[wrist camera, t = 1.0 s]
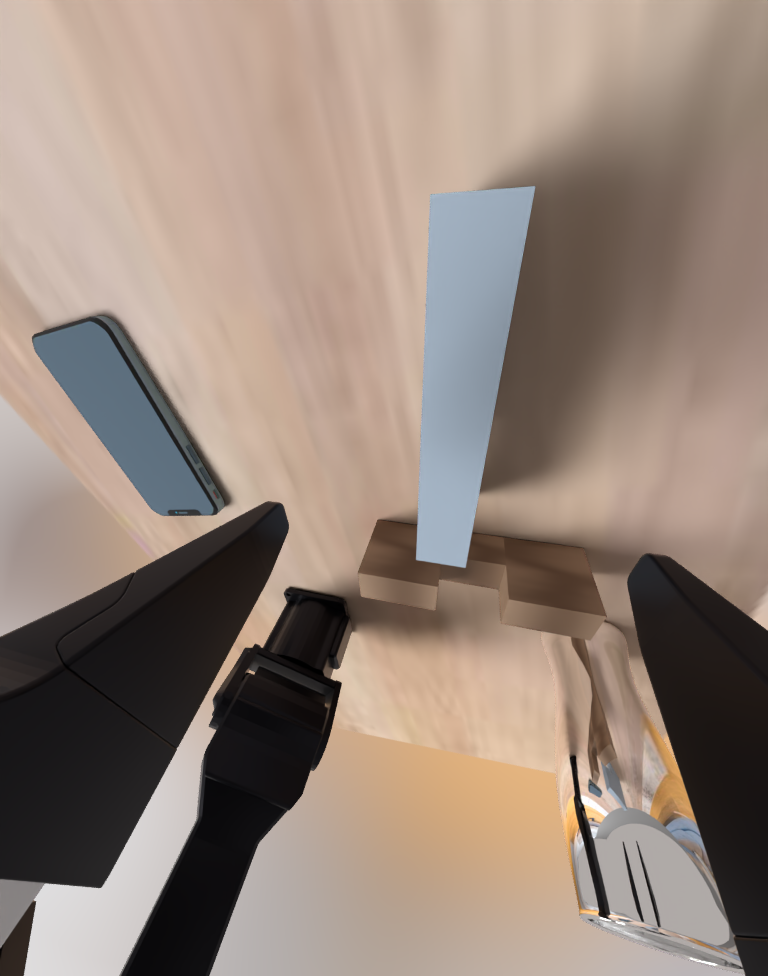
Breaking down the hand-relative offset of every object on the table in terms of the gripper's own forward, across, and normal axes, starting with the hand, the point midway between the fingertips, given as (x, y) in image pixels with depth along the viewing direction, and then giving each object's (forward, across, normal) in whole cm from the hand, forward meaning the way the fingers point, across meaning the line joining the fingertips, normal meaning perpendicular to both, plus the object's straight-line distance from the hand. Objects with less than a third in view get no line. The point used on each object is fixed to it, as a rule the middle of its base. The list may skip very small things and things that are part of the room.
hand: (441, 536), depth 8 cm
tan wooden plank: (+11, -2, +11) cm, 16 cm away
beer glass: (+11, -12, +20) cm, 26 cm away
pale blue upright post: (+11, 0, 0) cm, 11 cm away
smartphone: (+12, +23, +4) cm, 26 cm away
